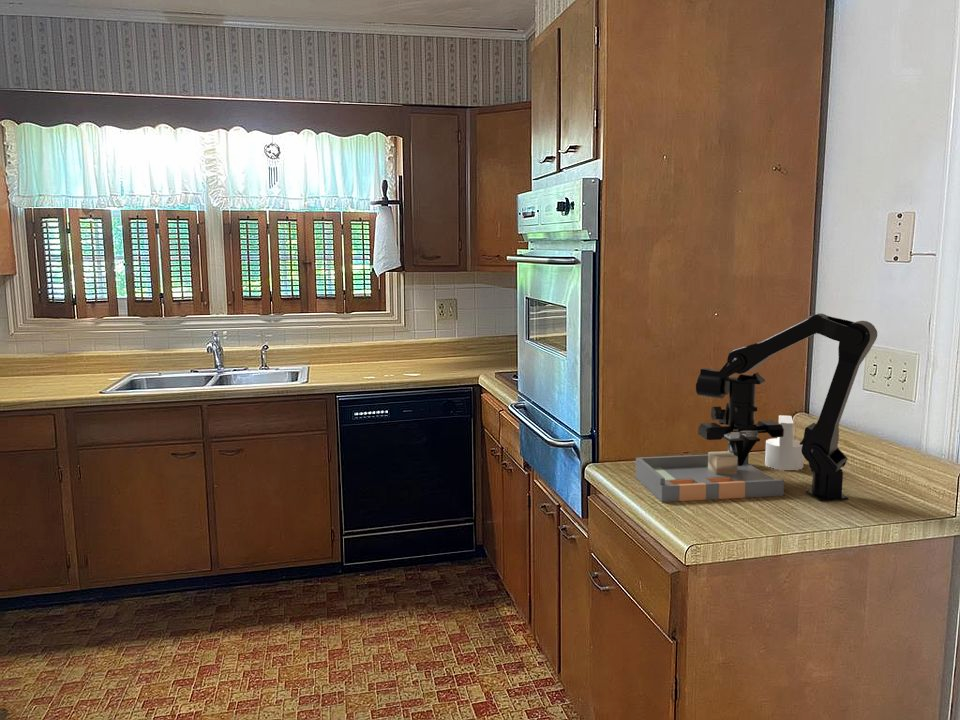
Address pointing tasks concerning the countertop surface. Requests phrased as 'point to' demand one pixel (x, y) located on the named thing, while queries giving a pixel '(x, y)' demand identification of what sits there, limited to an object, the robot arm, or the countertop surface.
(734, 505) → the countertop surface
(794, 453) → the base with upright slab
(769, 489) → the grey tray
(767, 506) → the countertop surface
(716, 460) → the birch block
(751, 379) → the robot arm
